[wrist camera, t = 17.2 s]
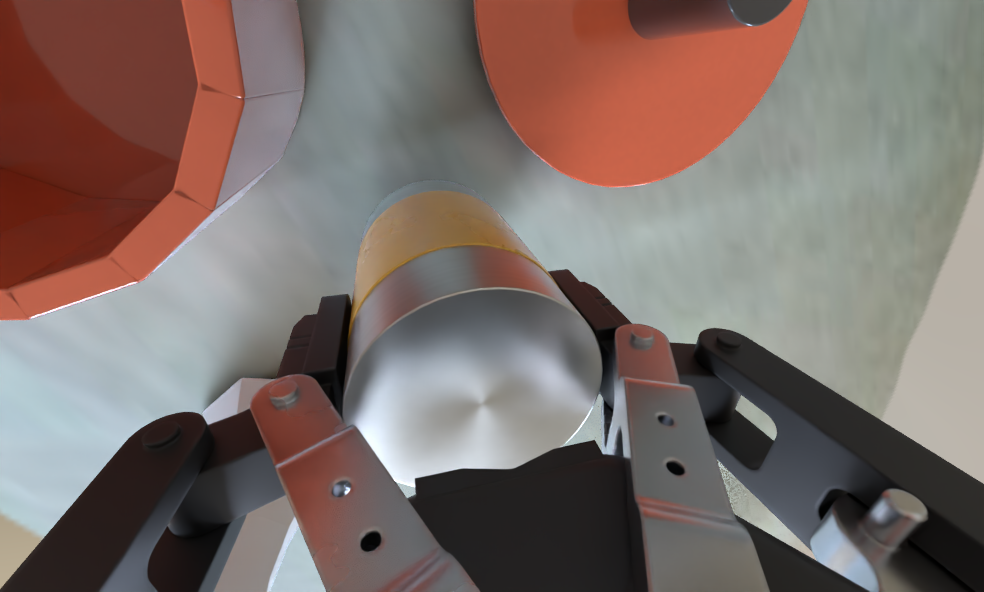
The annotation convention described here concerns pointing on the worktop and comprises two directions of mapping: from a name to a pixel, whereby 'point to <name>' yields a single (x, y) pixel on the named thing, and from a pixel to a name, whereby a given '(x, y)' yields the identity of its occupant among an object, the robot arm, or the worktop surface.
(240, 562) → the flask
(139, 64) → the pot
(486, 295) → the can
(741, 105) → the lid
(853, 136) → the worktop surface
